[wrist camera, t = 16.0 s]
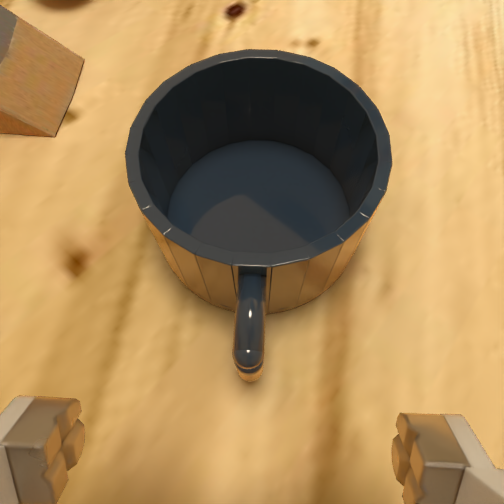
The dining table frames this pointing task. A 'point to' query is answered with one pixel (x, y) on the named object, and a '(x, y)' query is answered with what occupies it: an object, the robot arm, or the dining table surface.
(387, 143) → the coffee mug
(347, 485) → the dining table surface
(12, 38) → the sandwich container
